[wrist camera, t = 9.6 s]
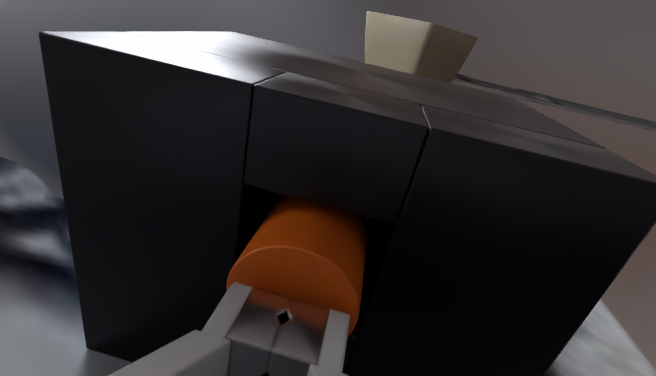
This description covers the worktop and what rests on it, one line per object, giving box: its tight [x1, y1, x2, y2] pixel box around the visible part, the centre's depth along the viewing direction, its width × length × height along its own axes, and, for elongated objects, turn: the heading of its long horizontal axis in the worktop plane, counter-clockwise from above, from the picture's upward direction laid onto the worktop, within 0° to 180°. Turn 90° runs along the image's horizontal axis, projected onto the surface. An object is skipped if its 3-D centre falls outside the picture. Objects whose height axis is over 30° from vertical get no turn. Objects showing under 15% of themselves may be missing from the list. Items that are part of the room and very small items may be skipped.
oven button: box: [227, 196, 367, 336], centre depth 11 cm, size 4×3×4 cm
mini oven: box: [39, 32, 656, 376], centre depth 16 cm, size 17×12×12 cm
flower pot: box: [365, 11, 477, 83], centre depth 82 cm, size 19×19×17 cm
